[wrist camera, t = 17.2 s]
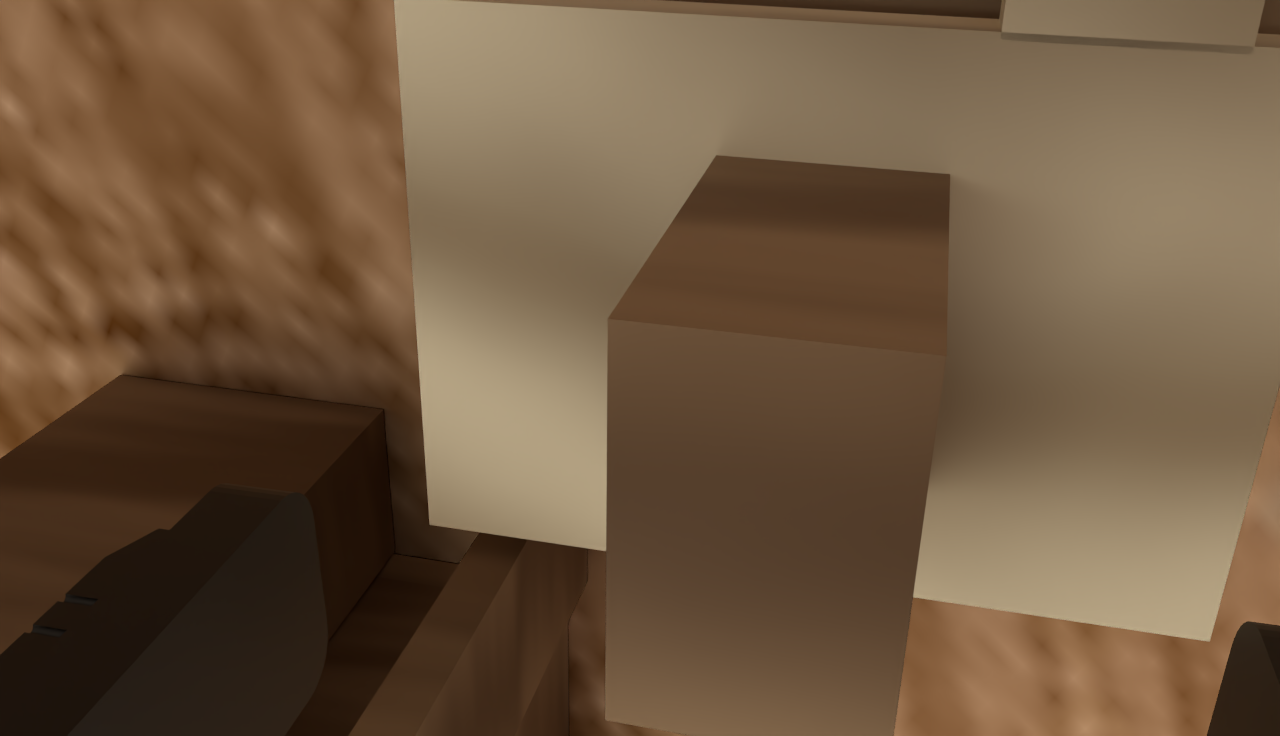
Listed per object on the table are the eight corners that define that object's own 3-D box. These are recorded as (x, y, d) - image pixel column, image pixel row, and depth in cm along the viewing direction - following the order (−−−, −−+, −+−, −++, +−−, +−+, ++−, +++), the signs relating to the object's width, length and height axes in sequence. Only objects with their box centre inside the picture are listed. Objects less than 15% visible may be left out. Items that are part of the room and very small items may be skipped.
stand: (560, -127, 23) (465, -107, 18) (1251, -103, 20) (1332, -73, 16) (566, 398, 27) (491, 514, 23) (1125, 467, 25) (1160, 612, 21)
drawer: (426, -417, 17) (37, -570, 10) (1443, -433, 14) (1922, -654, 7) (470, 468, 23) (251, 772, 16) (1187, 567, 20) (1311, 982, 13)
